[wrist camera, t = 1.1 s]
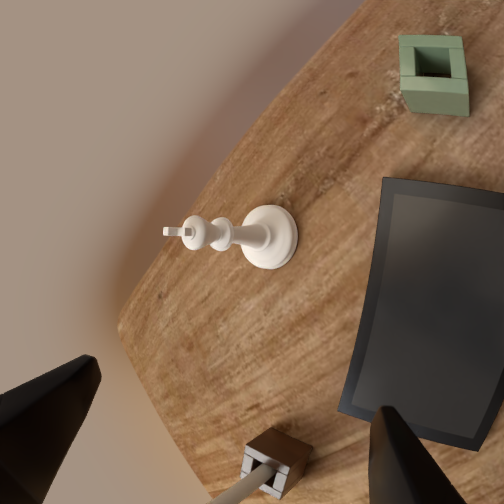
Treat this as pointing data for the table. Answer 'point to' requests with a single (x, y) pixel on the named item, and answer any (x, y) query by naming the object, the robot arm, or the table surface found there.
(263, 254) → the chess piece
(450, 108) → the pen block
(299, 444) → the stand
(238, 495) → the stylus
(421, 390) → the tablet
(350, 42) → the table surface
